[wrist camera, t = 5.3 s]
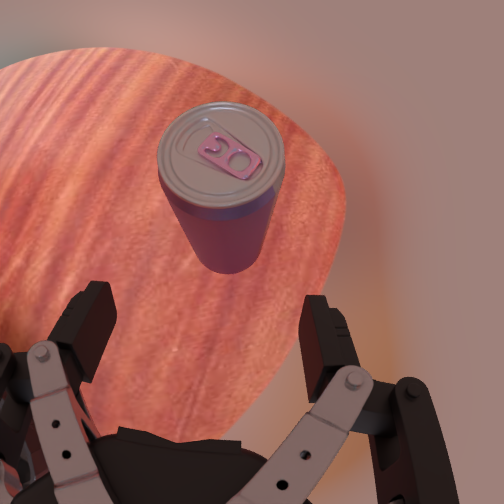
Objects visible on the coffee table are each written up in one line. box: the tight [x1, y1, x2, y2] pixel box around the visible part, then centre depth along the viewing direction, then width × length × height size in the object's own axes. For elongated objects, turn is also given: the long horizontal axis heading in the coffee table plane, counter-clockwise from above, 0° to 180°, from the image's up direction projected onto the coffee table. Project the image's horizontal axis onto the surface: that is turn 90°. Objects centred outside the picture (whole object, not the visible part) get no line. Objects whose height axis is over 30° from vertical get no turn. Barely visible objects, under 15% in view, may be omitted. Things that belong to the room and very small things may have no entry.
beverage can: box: [157, 101, 285, 274], centre depth 20 cm, size 6×6×15 cm
